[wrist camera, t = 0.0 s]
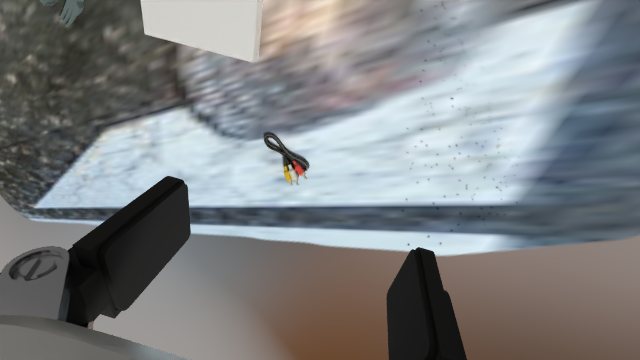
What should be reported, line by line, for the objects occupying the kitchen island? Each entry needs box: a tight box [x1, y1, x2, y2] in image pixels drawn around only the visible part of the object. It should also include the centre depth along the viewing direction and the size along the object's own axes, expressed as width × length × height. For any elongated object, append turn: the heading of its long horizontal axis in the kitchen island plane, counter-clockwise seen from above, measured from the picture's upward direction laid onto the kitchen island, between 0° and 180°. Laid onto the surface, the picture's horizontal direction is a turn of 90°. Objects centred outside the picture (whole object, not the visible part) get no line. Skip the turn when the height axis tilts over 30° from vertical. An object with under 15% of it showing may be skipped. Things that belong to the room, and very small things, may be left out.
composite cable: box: [264, 134, 309, 186], centre depth 45 cm, size 10×5×2 cm, turn 31°
